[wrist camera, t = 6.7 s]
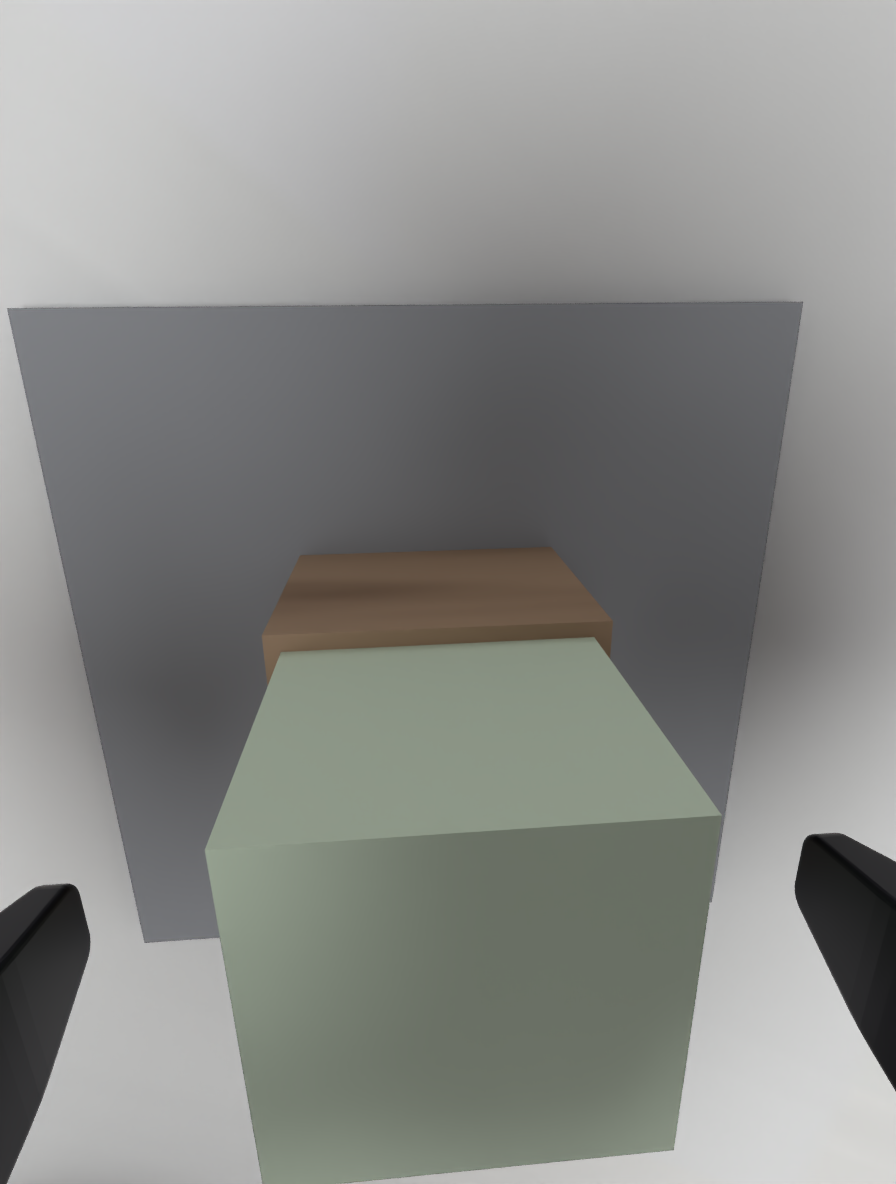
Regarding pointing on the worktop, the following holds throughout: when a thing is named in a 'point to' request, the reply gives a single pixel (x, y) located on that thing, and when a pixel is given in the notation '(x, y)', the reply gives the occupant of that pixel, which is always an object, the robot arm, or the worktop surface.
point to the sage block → (459, 911)
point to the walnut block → (431, 601)
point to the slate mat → (390, 506)
